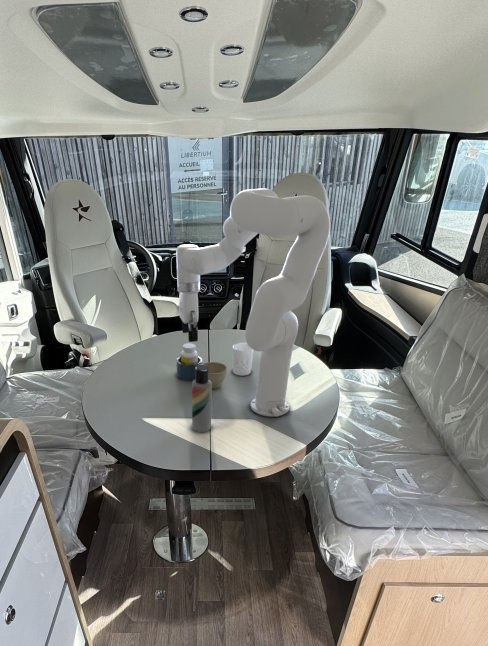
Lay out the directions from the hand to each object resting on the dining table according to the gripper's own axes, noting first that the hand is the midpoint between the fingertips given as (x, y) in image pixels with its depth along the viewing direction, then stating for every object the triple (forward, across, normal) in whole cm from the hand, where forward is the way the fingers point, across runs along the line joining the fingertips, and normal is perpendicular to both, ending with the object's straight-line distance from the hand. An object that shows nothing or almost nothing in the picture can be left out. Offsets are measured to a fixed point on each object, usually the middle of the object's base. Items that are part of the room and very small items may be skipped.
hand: (190, 336), depth 157 cm
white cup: (+15, +1, +20) cm, 25 cm away
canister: (+15, -1, 0) cm, 15 cm away
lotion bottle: (+16, +37, -5) cm, 41 cm away
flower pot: (+15, +10, +6) cm, 19 cm away
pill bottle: (+14, -1, 0) cm, 15 cm away
